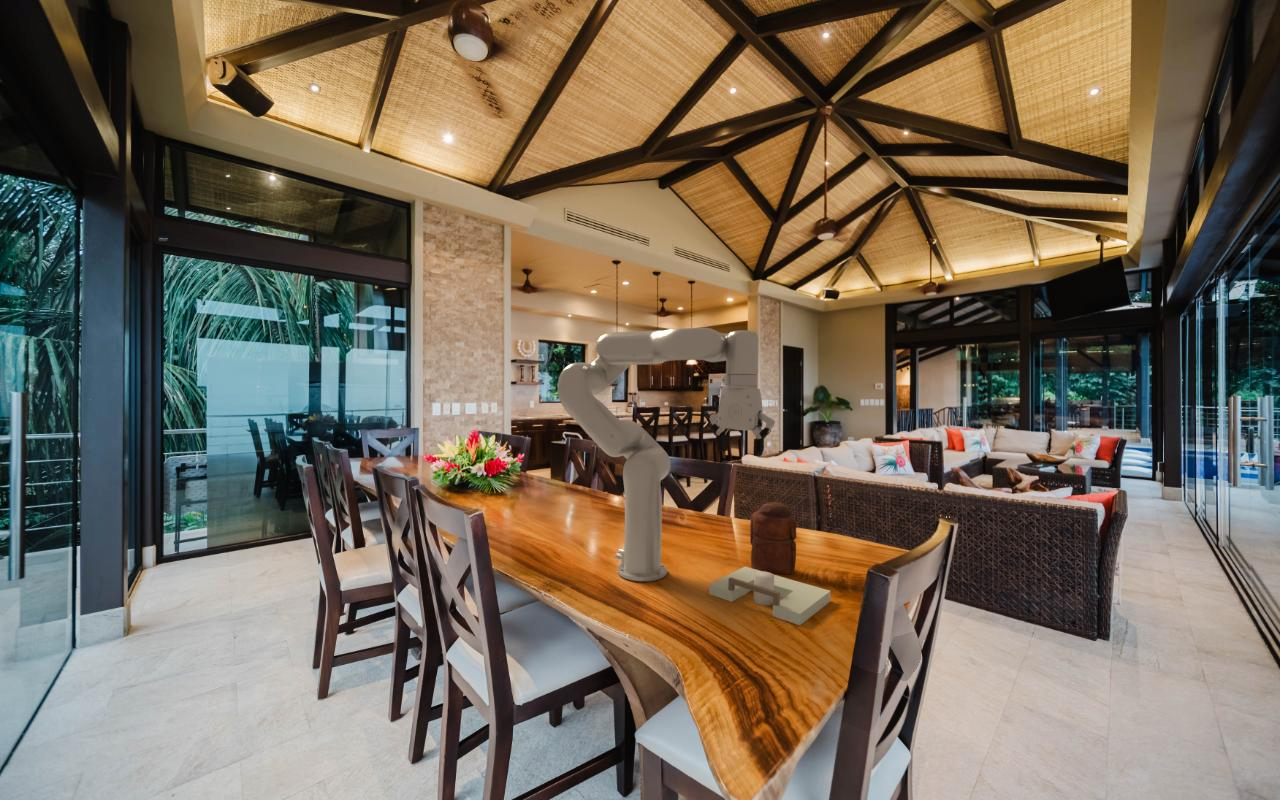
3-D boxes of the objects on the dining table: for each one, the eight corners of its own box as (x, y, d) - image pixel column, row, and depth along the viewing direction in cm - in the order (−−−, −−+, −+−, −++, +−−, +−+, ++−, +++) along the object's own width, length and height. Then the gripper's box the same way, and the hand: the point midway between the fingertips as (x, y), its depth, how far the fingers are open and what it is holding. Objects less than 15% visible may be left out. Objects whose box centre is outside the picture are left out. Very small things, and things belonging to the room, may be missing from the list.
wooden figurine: (794, 568, 134) (796, 501, 134) (795, 576, 128) (797, 506, 127) (749, 563, 137) (751, 498, 137) (748, 571, 131) (750, 503, 131)
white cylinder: (750, 601, 113) (750, 574, 112) (759, 595, 116) (760, 569, 116) (767, 607, 110) (768, 580, 109) (777, 601, 113) (777, 574, 113)
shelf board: (709, 594, 116) (709, 572, 116) (744, 575, 128) (745, 556, 128) (799, 625, 101) (800, 601, 101) (830, 601, 113) (830, 579, 113)
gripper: (702, 382, 123) (701, 451, 124) (766, 382, 112) (765, 458, 112) (719, 382, 129) (718, 448, 129) (782, 383, 117) (780, 455, 118)
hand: (740, 453), depth 121 cm, fingers open, 9 cm apart
